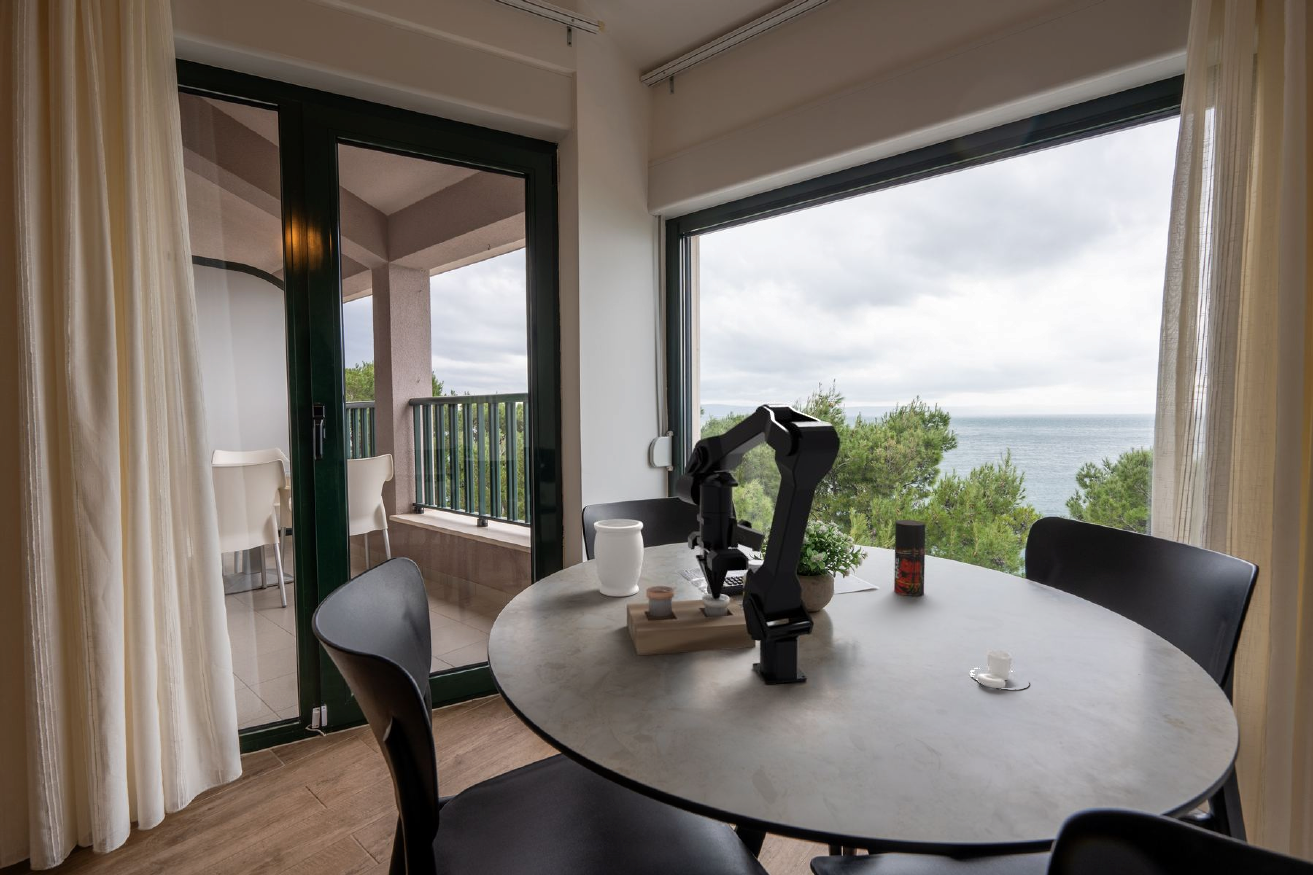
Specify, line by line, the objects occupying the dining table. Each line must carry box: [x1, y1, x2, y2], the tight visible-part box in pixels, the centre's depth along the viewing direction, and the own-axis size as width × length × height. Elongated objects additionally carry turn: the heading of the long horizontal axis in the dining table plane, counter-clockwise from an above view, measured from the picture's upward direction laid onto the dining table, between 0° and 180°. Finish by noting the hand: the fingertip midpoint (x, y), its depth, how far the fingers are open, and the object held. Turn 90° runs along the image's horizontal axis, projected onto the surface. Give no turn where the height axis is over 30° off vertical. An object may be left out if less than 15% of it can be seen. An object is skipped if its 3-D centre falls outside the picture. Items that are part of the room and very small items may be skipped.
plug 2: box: [701, 593, 731, 617], centre depth 115 cm, size 5×5×4 cm
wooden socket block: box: [626, 597, 757, 656], centre depth 114 cm, size 14×20×4 cm
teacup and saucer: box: [969, 649, 1013, 689], centre depth 96 cm, size 9×8×4 cm
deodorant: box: [893, 519, 926, 597], centre depth 138 cm, size 6×6×15 cm
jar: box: [593, 518, 644, 598], centre depth 139 cm, size 11×10×15 cm
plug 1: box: [645, 585, 675, 616], centre depth 113 cm, size 5×5×4 cm
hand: (716, 597), depth 114 cm, fingers closed, pressing on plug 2
